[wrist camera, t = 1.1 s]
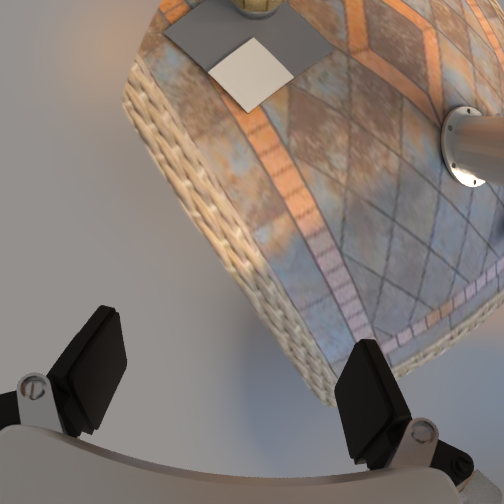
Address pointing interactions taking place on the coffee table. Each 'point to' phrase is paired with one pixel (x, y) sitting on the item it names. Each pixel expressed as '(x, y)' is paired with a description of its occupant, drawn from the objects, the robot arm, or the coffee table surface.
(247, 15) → the grey knob
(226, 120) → the coffee table surface
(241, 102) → the pad
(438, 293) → the coffee table surface
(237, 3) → the gold lidded jar
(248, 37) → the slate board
